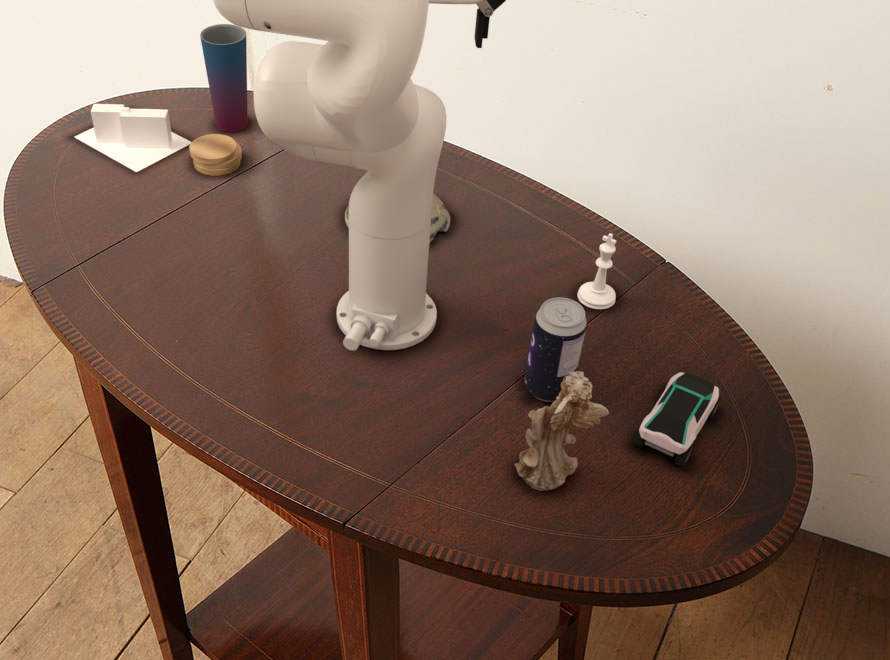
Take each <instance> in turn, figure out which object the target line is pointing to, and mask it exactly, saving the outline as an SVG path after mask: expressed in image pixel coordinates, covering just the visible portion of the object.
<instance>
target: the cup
mask: <svg viewBox="0 0 890 660" xmlns="http://www.w3.org/2000/svg"><path fill="white" fill-rule="evenodd" d="M199 37H200V38H199V39H200V43H201V48H202V55H203V60H204V64H205V70H206V71H205V72H206V77H207V83H208V87H209V93H210V98H211V105H212V110H213V115H214V116H213V117H214V122H215V127H216V128H217V129H218V130H219V131H220V132H224V133H229V134H230V133H231V134H232V133H238V132H241V131H244V130H245V129H246V128H247V127H248V124H249V123H248V120H249V119H248V59H247V58H248V56H247V51H248V50H247V48H248V47H247V32H246V30H245V28H244V27H240V26H237V25H235V24H232V23H217V24H213V25H210V26H206V27H205V28H204V29H202V30H201V31H200V33H199Z"/></svg>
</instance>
